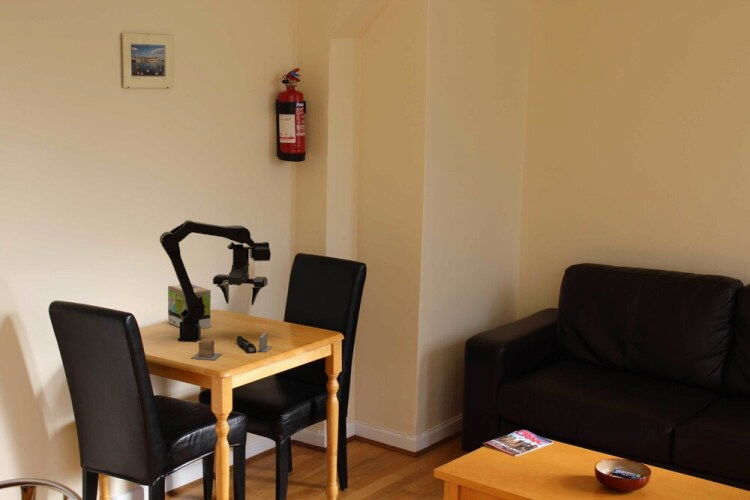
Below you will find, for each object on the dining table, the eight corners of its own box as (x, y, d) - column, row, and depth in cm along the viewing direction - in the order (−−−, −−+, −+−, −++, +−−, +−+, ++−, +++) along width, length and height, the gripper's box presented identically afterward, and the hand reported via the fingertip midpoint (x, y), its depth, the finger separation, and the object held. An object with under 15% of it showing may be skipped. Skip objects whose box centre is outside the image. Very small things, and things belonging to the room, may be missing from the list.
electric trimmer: (244, 343, 328) (244, 334, 328) (257, 353, 314) (257, 344, 314) (234, 344, 327) (234, 335, 326) (246, 354, 313) (246, 345, 312)
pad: (190, 358, 304) (190, 357, 304) (198, 352, 312) (198, 351, 312) (214, 360, 303) (214, 359, 303) (221, 354, 311) (221, 353, 311)
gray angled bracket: (257, 351, 316) (258, 337, 315) (263, 346, 323) (263, 332, 322) (266, 352, 315) (266, 338, 315) (271, 347, 322) (271, 333, 321)
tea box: (166, 323, 352) (167, 285, 350) (190, 320, 359) (190, 282, 357) (187, 331, 341) (188, 291, 339) (211, 328, 348) (211, 289, 346)
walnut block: (202, 353, 309) (202, 339, 309) (214, 354, 309) (214, 339, 308) (198, 356, 305) (198, 342, 305) (210, 357, 305) (210, 342, 304)
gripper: (208, 263, 325) (207, 307, 327) (260, 266, 322) (259, 310, 324) (217, 258, 336) (217, 301, 338) (268, 261, 333) (267, 304, 335)
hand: (240, 304), depth 334 cm, fingers open, 9 cm apart
